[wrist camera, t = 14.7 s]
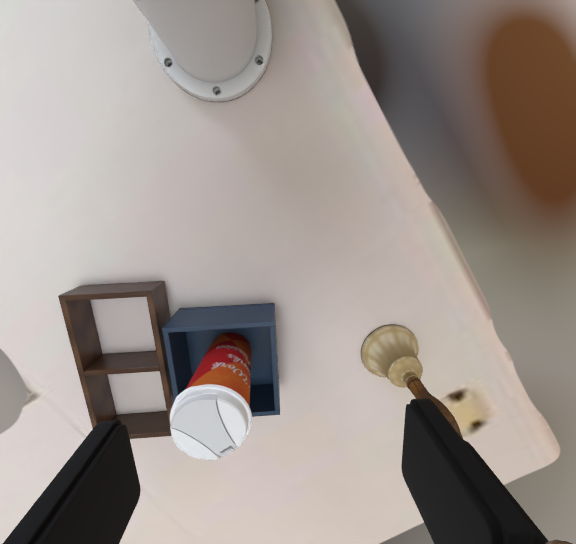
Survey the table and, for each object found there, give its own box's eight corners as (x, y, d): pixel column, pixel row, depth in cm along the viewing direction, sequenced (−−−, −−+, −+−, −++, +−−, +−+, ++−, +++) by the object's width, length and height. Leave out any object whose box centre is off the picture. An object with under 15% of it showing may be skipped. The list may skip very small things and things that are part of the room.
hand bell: (425, 361, 42) (513, 458, 26) (373, 384, 42) (430, 491, 27) (406, 315, 40) (491, 389, 24) (352, 339, 40) (401, 427, 25)
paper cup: (269, 356, 40) (267, 438, 26) (224, 384, 40) (199, 477, 27) (237, 313, 38) (216, 377, 24) (190, 343, 39) (145, 421, 25)
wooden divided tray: (80, 285, 36) (57, 295, 32) (164, 280, 37) (151, 290, 33) (112, 419, 42) (95, 441, 38) (185, 413, 42) (176, 435, 38)
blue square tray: (179, 308, 38) (161, 328, 32) (274, 303, 38) (274, 321, 32) (191, 390, 41) (177, 422, 35) (279, 384, 41) (279, 414, 36)
